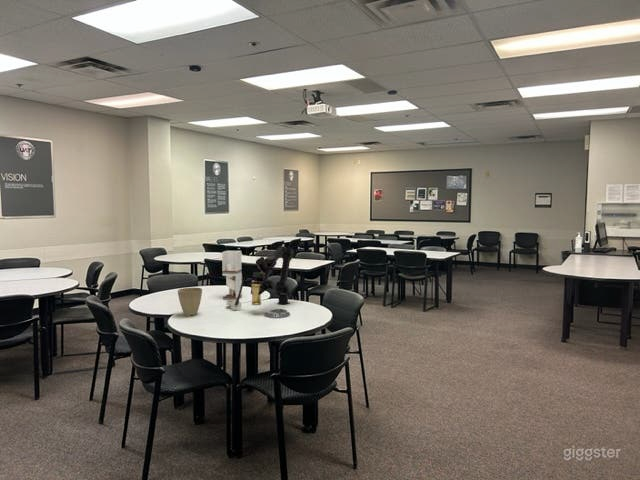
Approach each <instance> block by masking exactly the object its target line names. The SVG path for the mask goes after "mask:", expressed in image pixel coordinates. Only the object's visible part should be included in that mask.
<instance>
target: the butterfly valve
mask: <svg viewBox="0 0 640 480" xmlns="http://www.w3.org/2000/svg"><path fill="white" fill-rule="evenodd" d="M244 284H245V280H243V279H242V284H241V287H240V291H239V294H238V297H237V300H226V305H227V306H230V308H231V309H232V310H233V311H240V310H241V308H242V305H243V304H242V302H241V301H240V299H241V298H240V294H241V291H243V287H244ZM239 298H240V299H239Z"/></svg>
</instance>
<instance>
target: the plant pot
mask: <svg viewBox="0 0 640 480" xmlns="http://www.w3.org/2000/svg"><path fill="white" fill-rule="evenodd" d="M202 293H203V288H201V287H183V288H179V289H177V295H178V300H179V304H180V307H181V309H182V312H183V314H184V316H185V315H187V316H186V317H192V316H191V315H194V316H196V315H197V314H198V311H199V308H200V305H201V300H202V295H203V294H202Z"/></svg>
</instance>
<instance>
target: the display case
mask: <svg viewBox="0 0 640 480" xmlns="http://www.w3.org/2000/svg"><path fill="white" fill-rule="evenodd" d="M221 254H222V255H221V256H222V257H221V258H222V263H221V264H222V267H221V269H222V276H224V277H225V278H226V279H225V280H226V281H225V282H226V283H225V284H226V287H227V288H228V290H229V291H228V294H225V295H224V296H223V297H222V300H223V301H227V300H231V301H233V300H237V297H238V294H239V291H240V287H241V284H242V280H243V279H242V278H243V277H242V276H243V275H242V267H243V266H242V250H224V251H222V253H221ZM242 291H243V290H242ZM242 291H241V294H240V298H239V300H240V299H242V298H243V292H242Z"/></svg>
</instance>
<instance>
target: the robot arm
mask: <svg viewBox="0 0 640 480" xmlns="http://www.w3.org/2000/svg"><path fill="white" fill-rule="evenodd" d="M294 255H295V251H294V249H293V248H290V247H286V246H283V245H282V246H281V245H280V246H278V248H276V250H275V251H274V252H273V253H272V254H271V255H270V256H267V257H266V258H265V257H264V256H260V257H259V258H258V259H256V260H255V264H256V266H257V268H258V269H259V270H260V271H253V274H252V277H253V278H246V280H245V283H246V284H247V286H248V287H249V288H250V294H251V295H252V286H251V284H253V283H260V284H261V286H260V288H261V289H260V291H259V295H262V294H263V293H264V292H266V291H267V290H269V289H273V290H274V288H275V293H276V296H278V302H276V304H277V305H283V306H284V305H288V304H290V302H289V296H291V292H292V291H291V290H290V288H289V283H288V277H289V276H288V275H289V269H290V264H291V263H290V262H291V261H292V259H293V257H294ZM280 257H281V258H282V266H281V270H280V278H279V280H278V281H277V282H276V284H275V283H274V282H273V280H271V279H269V276H270V274H272V273H273V271H272V269H271V268H275V267H276V265H277V264H278V263H277V261H278V260H279V259H280ZM275 285H276V286H275Z"/></svg>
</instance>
